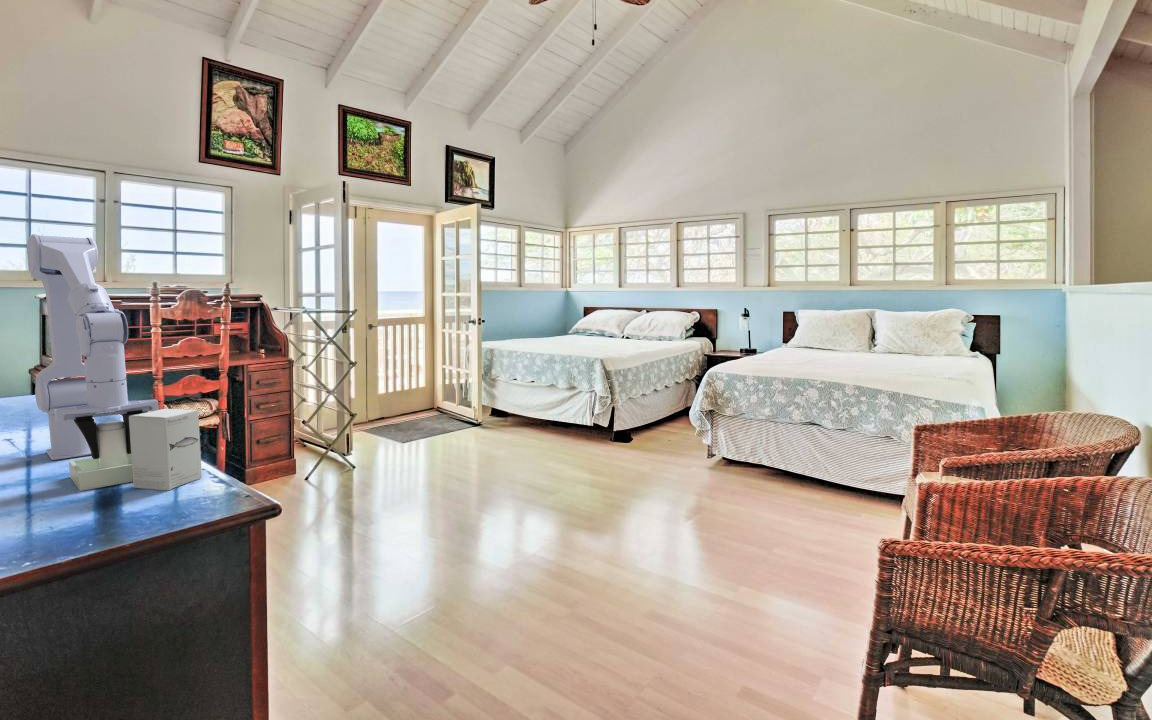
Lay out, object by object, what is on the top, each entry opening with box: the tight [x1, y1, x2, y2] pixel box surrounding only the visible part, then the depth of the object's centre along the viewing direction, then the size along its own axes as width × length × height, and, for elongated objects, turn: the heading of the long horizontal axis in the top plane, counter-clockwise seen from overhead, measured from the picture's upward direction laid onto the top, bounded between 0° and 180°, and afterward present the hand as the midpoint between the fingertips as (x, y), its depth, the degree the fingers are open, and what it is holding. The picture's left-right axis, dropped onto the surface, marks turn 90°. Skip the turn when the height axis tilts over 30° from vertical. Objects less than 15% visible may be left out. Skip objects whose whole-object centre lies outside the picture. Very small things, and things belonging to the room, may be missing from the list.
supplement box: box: [129, 408, 203, 491], centre depth 106 cm, size 7×7×13 cm
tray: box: [68, 454, 133, 492], centre depth 110 cm, size 11×11×3 cm
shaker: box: [96, 420, 129, 469], centre depth 109 cm, size 4×4×8 cm
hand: (112, 455), depth 109 cm, fingers closed on shaker, 4 cm apart
